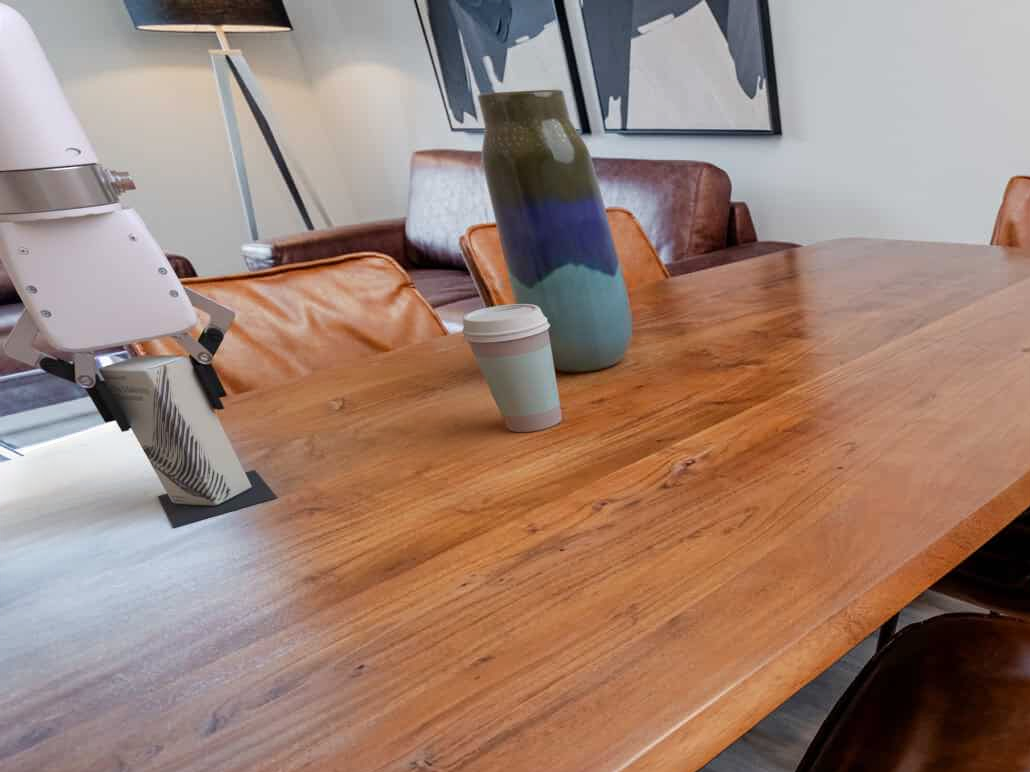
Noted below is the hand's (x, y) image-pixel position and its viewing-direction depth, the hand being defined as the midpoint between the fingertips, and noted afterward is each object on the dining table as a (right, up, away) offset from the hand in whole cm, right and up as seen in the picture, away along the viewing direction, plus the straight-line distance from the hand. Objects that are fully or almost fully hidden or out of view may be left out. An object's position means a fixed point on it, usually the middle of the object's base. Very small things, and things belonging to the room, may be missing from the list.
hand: (171, 415), depth 73 cm
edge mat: (0, -7, +4) cm, 8 cm away
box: (0, -7, +4) cm, 8 cm away
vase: (+23, +15, +37) cm, 46 cm away
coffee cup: (+25, +3, +18) cm, 31 cm away
